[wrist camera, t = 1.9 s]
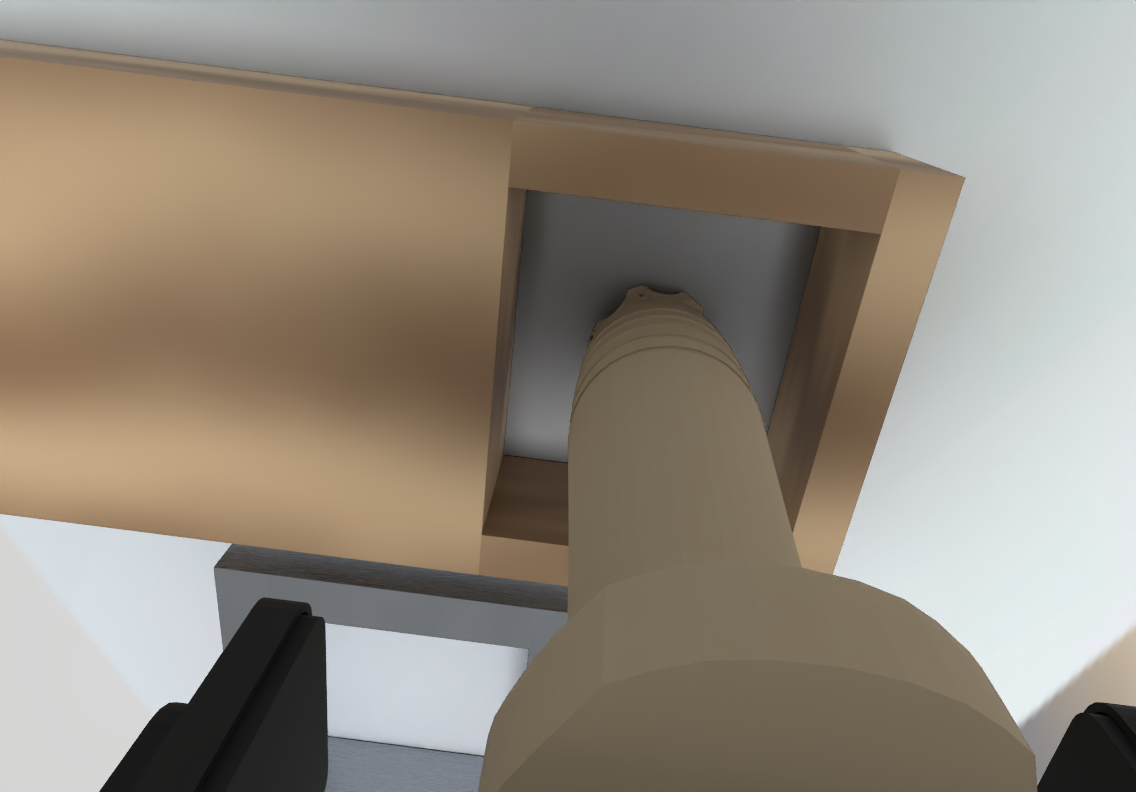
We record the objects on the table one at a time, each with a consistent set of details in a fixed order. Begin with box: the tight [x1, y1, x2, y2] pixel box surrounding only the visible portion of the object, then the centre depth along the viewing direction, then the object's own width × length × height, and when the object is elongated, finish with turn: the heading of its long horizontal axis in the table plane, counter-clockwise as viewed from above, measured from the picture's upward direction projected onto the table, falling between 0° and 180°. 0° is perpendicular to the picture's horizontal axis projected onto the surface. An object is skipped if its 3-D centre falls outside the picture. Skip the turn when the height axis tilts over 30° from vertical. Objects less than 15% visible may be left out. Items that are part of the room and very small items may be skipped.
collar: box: [214, 543, 568, 792], centre depth 24 cm, size 12×10×3 cm
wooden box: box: [0, 40, 965, 586], centre depth 18 cm, size 11×22×4 cm, turn 83°
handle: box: [478, 285, 1037, 792], centre depth 13 cm, size 5×6×15 cm
